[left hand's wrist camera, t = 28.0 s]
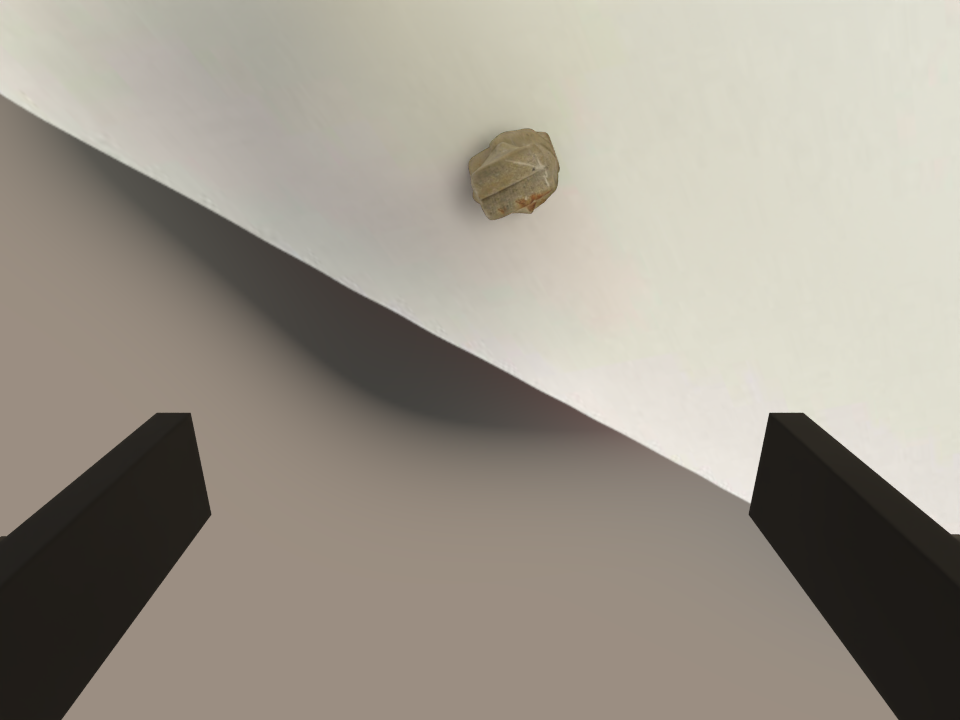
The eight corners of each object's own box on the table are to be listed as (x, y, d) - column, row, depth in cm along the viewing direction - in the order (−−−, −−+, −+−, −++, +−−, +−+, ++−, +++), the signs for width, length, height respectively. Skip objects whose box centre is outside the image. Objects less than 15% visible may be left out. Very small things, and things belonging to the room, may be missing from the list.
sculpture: (461, 150, 48) (453, 151, 34) (540, 118, 48) (565, 106, 34) (485, 215, 50) (486, 241, 36) (561, 185, 50) (593, 200, 36)
